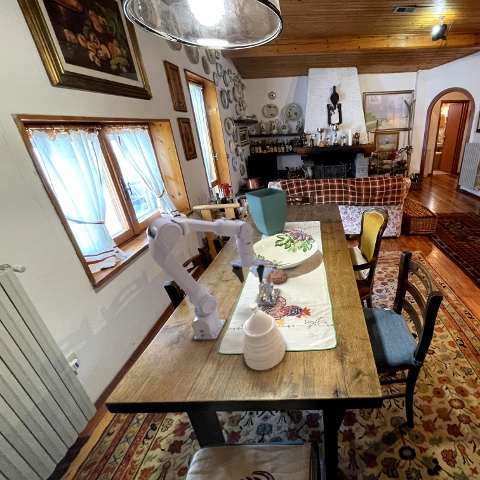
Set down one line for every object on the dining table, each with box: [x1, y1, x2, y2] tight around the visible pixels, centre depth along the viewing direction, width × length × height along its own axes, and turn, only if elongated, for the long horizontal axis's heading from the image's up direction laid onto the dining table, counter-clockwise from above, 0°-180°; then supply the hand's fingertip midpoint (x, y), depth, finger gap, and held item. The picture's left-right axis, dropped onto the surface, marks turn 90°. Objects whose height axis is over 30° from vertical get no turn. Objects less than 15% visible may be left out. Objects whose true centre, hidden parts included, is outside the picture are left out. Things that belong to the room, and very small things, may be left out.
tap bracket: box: [255, 280, 280, 306], centre depth 107 cm, size 10×8×7 cm
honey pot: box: [241, 302, 286, 371], centre depth 78 cm, size 13×13×18 cm
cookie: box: [265, 269, 288, 285], centre depth 122 cm, size 10×11×3 cm
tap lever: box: [256, 282, 270, 298], centre depth 103 cm, size 11×3×3 cm, turn 177°
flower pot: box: [244, 187, 288, 237], centre depth 173 cm, size 20×20×28 cm
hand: (251, 281), depth 102 cm, fingers open, 7 cm apart
